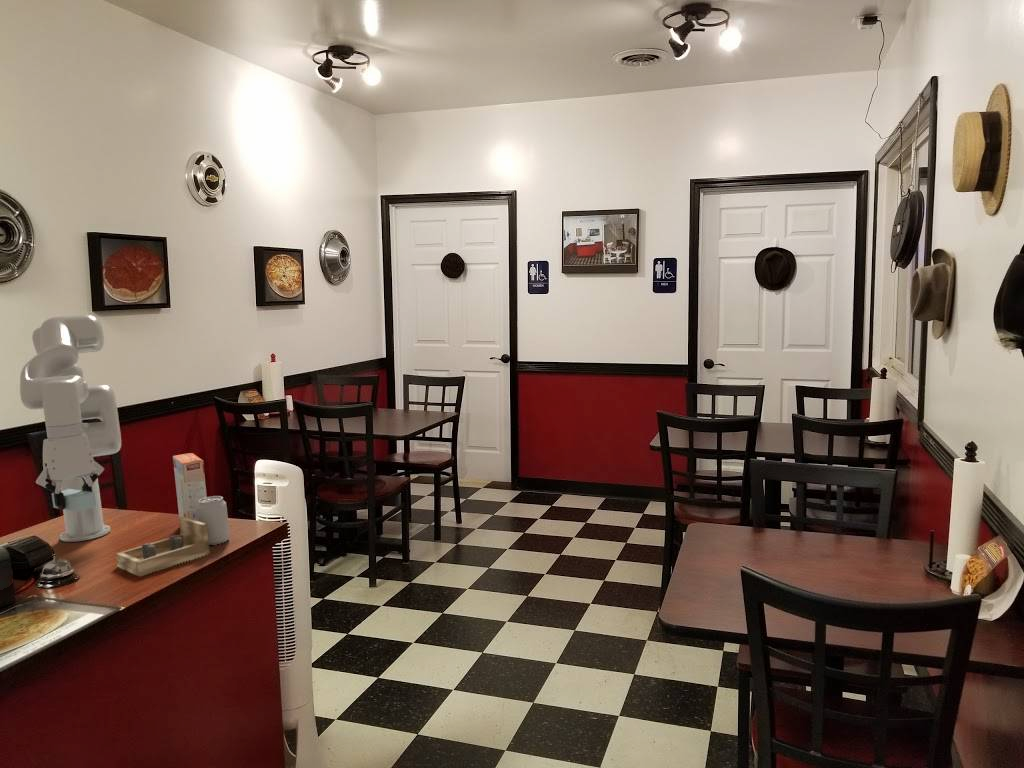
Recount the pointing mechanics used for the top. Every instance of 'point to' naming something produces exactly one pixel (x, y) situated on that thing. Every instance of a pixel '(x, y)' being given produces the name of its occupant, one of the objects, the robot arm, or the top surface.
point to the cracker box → (189, 483)
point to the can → (214, 518)
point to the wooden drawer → (167, 550)
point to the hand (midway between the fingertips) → (74, 504)
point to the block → (77, 500)
